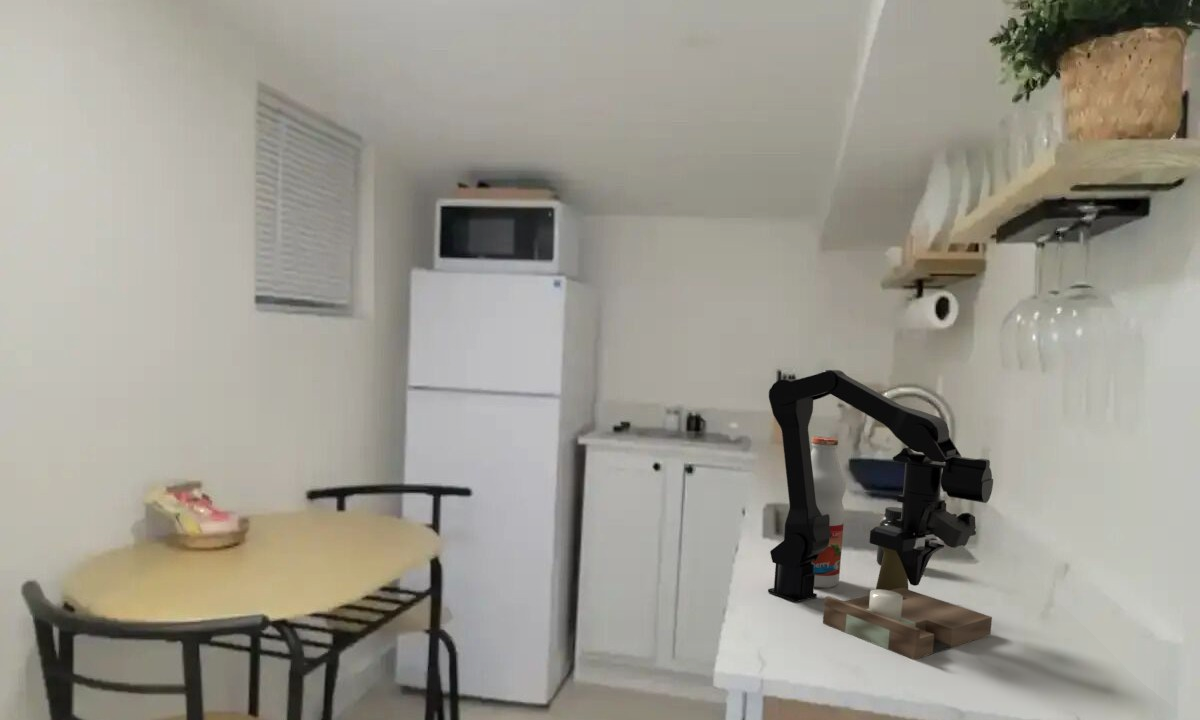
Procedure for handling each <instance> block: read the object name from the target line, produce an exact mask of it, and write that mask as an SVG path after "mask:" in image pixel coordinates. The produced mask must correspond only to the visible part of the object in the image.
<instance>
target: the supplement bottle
mask: <svg viewBox="0 0 1200 720" xmlns="http://www.w3.org/2000/svg"><path fill="white" fill-rule="evenodd" d="M901 514H902V507H898V506H888V507H885V511H884V518H885V519H882V520H881V521H880V522H879V524H878V526H884V525H890V526H894V527H897V528H901V529H902V527H898V526H895V521H896V520H898V519H901ZM883 554H884V551H883V549H882V547H881V546H878V545H877V551H876V562H877V564H878V565H880V566H881V563H882V559H883Z"/></svg>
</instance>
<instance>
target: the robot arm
mask: <svg viewBox="0 0 1200 720" xmlns="http://www.w3.org/2000/svg"><path fill="white" fill-rule="evenodd" d="M830 395H832V396H833V397H836V398H837V399H838V400H840V401H842V402H844V403H846V404H847V405H849V406H851V407H853V408H854V409H856V410H858V411H859V412H862V413H863V414H865V415H867V416H868V417H871V418H872V419H873V420H875V421H877V422H879V423H881V424H883V425H884V426H885V427H886V428H888V430H889V431H890V433H892V435H893V436H894V437H895V438H897V440H899V441H900V442H901V443H903V444H904V445H905V446H906V447H903V448H902V450H901V451H899V453H898V454H896V455H894V456H893V457H892V461H894V462H899V463H903V464H905V465H904V467H905V468H904V478H903V488H902V489H903V492H902V494H899V495H897V498H896V502H897V503H902V504H901V508H902V514H901V519H898V520H896V521H895V526H898V527H902V529H901V528H897V527H894V526H890V525H884V526H879V525H878V526H874V527H873V528H872V529H871V530H870V531H869V544H871V545H875V546H877V547H878V546H881V547H884V548H888V549H891V550H895V551H896V552H897V554H898V556H899V558H900V560H901V563H902V565H903V567H904V570H905V572H906V575H907V578H908V584H910V585H912V586H915V587H916V586H919V585H920V583H921V580H922V577H923V575H924V573H925V571H926V569H927V566H928V563H929V561H930V559H931V557H932V556H933V555H934V554H935V553H936V552H938V551H940V550H942V549H944V548H945V545H946V546H947V547H950V548H954V549H955V548H957V547H961V546H963V547H965V546H967V544H968V542H969V540H970V539H971V538H970V537H973V536H974V537H975V536H976V534H977V531H976V529H977V528H976V527H977V526H976V516H974V515H973V514H971V513H970V512H963V513H960V514H959V515H958V514H957V513H950V512H948V511H947V502H946V500H945V499H941V489H942V492H943V493H944V492H945V493H946V495H947V497H950V498H954V499H961V500H966V501H971V502H972V501H973V502H978V503H983V504H987V503H988V502H989V500H990V498H991V495H992V491H993V485H994V479H993V475H992V469H991V465H990V463H991V461H990V459H987V458H972V457H971V458H970V457H965V456H962V455H961V453H960V451H959V450H958V448H957V447H956V445H955V443H954V442H953V440H952V438H951V437H950V429H949V427H948V424H947V422H946V421H945V420H944V419H943V418H942V417H939V416H937V415H934V414H932V413H929V412H926V411H922V410H918V409H915V408H910V407H908V406H904V405H901V404H899V403H897V402H896V401H894V400H892V399H891V398H888V397H887V396H885V395H882V394H881V393H880V392H877V391H875V390H874V389H872V388H870V387H868V386H867V385H865V384H863V383H861V382H859V381H857V380H855V379H854V378H852V377H850V376H848V375H847V374H846V373H845V372H844V371H842V370H839V369H826V370H823V371H821V372H819V373H816V374H814V375H809V376H806V377H801V378H797V379H796V378H794V379H791V378H790V379H789V378H788V379H779V380H776V381H775V382H774V383H773V384H772V386H770V388H769V391H768V399H769V404H770V408H771V412H772V414H773V415H772V416H773V417H774V419H775V420H776V422H777V424H778V426H779V427H780V431H781V437H782V444H783V445H782V446H783V454H784V464H785V475H786V484H787V494H788V502H789V509H788V512H787V515H786V519H785V522H784V532H783V533H784V535H783V541H781V542H780V543H778V544H777V545H776V546H775V547H773V549H771V550H770V552H769V553H770V558H771V562H772V563H774V564H775V570H774V571H775V572H774V581H773V582H774V584H773V587H771V588H768V589H767V592H768V593H770V594H772V595H775V596H778V597H780V598H783V599H786V600H787V601H791V602H793V603H795V602H796V603H797V602H801V601H806V600H810V599H814V598H817V597H818V594H817V593H815V592H814V588H815V587H814V578H815V575H814V574H813V569H814V565H813V564H811V563H810V562H812V561H816V560H817V559H818V556H819V554H820V553H821V552H823V551H824V550H825V549H826V548H827V547H828V545H829V538H830V537H832V534H831V531H830V526H829V524H830V517H829V515H828V514H826V515H822V514H821V513H820V511H819V509H818V507H817V505H816V498H815V489H814V479H813V470H812V461H811V451H812V450H811V444H810V434H809V425H810V421H811V418H812V415H813V412H814V411H813V410H814V401H816V400H819V399H822V398H824V397H827V396H830ZM915 452H916V453H915ZM938 539H939V540H941V541H942V542H943V543H944V544H945V545H944V544H941V543H939V542H938Z"/></svg>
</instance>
